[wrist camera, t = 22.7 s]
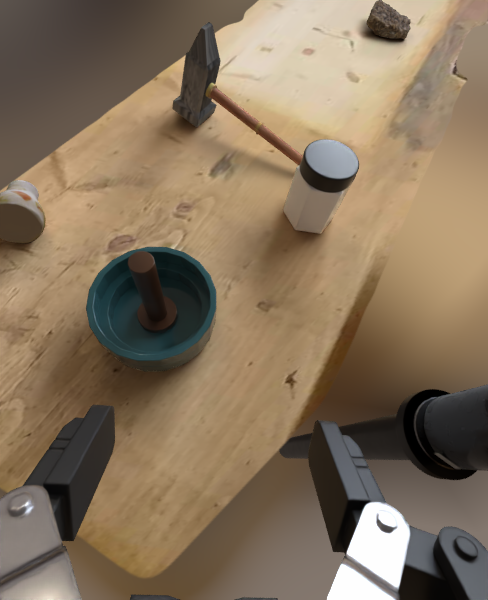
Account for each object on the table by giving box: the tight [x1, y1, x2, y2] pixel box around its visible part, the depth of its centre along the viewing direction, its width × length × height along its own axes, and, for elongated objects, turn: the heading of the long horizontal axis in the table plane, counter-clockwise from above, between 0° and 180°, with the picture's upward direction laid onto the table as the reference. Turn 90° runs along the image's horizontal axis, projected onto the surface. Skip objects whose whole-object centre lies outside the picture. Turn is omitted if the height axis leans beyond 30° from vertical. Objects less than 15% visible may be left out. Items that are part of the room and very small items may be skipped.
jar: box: [283, 139, 359, 234], centre depth 52 cm, size 9×8×12 cm
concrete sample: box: [367, 0, 410, 39], centre depth 86 cm, size 12×10×5 cm
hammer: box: [173, 23, 303, 165], centre depth 58 cm, size 6×16×30 cm
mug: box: [0, 180, 45, 243], centre depth 48 cm, size 8×10×10 cm
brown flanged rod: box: [128, 251, 177, 333], centre depth 39 cm, size 5×5×14 cm
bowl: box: [86, 247, 216, 372], centre depth 43 cm, size 16×16×6 cm
